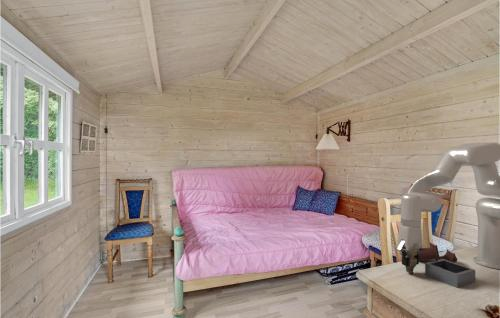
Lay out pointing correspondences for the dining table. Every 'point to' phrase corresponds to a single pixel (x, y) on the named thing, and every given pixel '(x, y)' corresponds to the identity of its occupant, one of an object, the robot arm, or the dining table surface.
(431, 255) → the dark brown lumpy piece
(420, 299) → the dining table surface
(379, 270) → the dining table surface
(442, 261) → the frame
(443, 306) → the dining table surface
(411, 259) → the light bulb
